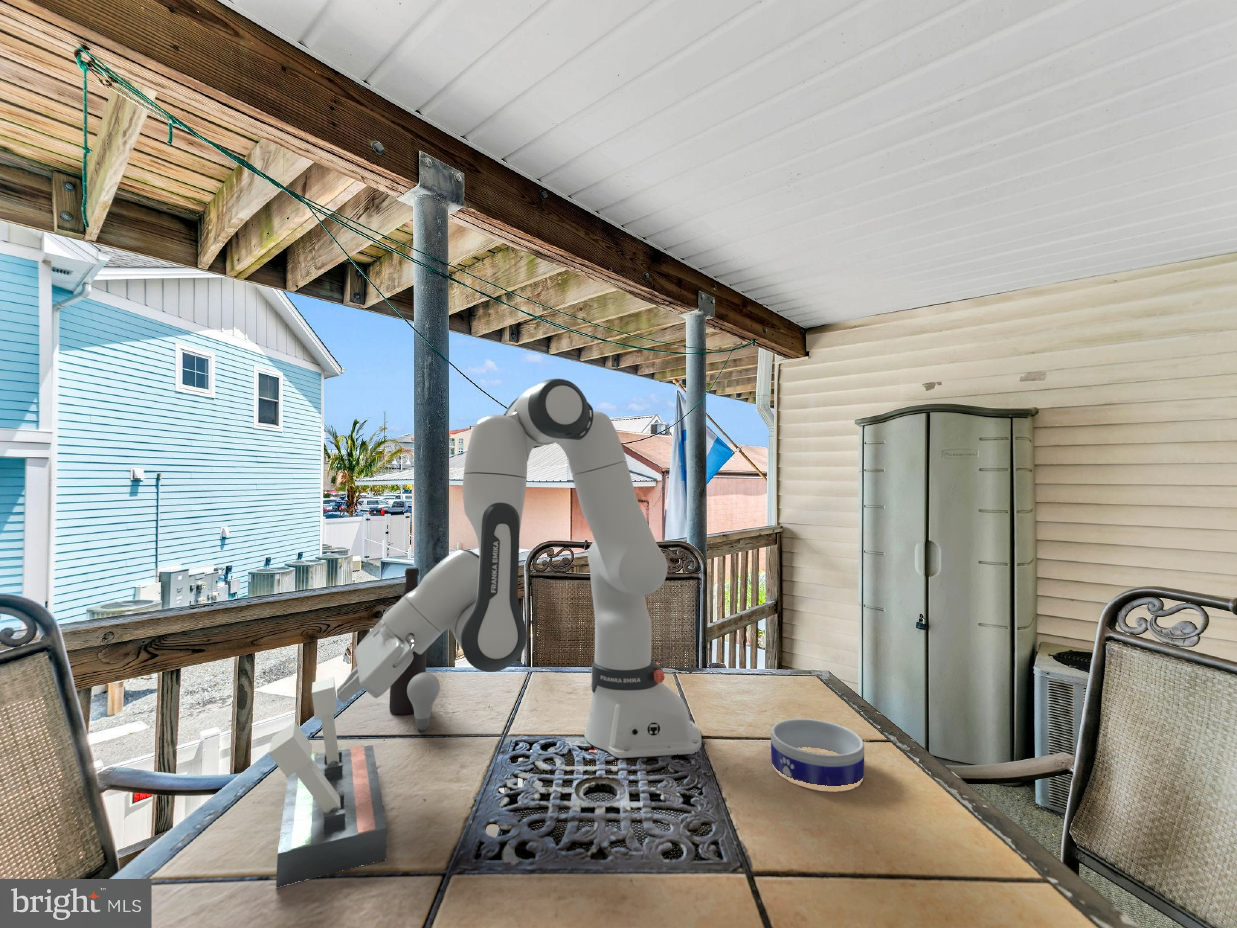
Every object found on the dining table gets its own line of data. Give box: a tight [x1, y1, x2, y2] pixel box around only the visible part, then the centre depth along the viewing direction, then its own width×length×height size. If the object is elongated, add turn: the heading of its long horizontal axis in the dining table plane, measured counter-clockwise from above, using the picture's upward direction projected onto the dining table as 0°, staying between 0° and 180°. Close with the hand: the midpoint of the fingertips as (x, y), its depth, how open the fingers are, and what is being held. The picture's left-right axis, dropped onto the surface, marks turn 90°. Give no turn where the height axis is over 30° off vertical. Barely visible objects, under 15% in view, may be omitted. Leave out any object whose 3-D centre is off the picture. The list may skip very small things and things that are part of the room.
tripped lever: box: [311, 676, 339, 765], centre depth 87 cm, size 3×5×13 cm, turn 27°
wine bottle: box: [388, 566, 428, 716], centre depth 122 cm, size 7×7×30 cm
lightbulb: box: [407, 671, 441, 731], centre depth 111 cm, size 6×6×11 cm
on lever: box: [268, 721, 340, 813], centre depth 74 cm, size 3×5×13 cm
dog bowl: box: [770, 718, 865, 786], centre depth 98 cm, size 15×15×6 cm
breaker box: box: [275, 744, 388, 888], centre depth 81 cm, size 12×26×5 cm, turn 27°
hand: (339, 697), depth 88 cm, fingers closed, pressing on tripped lever
